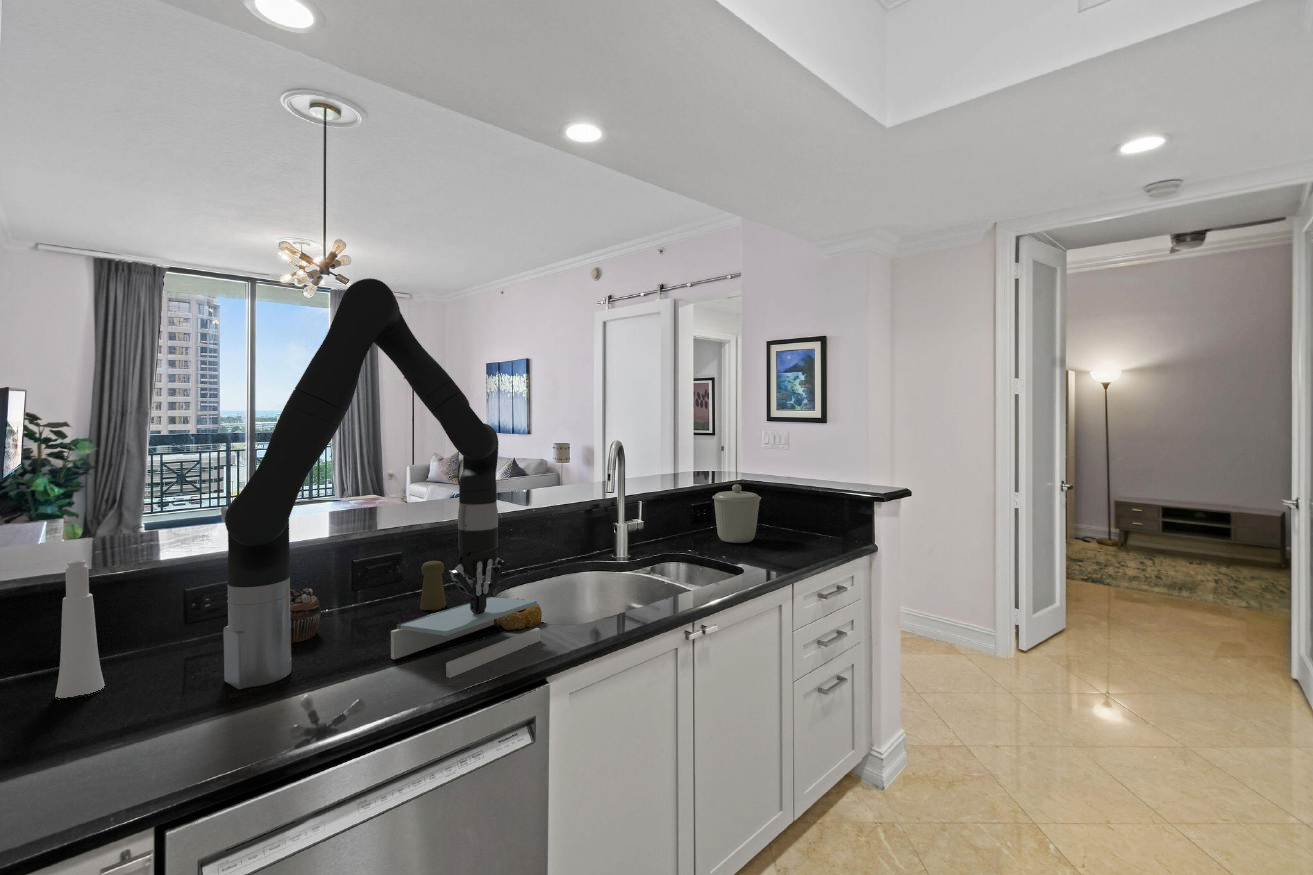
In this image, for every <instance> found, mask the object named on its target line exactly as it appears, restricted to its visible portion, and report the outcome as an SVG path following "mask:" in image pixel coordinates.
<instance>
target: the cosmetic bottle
mask: <svg viewBox="0 0 1313 875" xmlns="http://www.w3.org/2000/svg"><path fill="white" fill-rule="evenodd" d="M86 563H87V560H86V559H75V560H70V561H68V562H67V566H68V567H66V568H65V572H64V573H65V596H64V597H63V598H62V609H61V629H60V630H61V632H60V635H61V636H60V656H59V657H60V659H59V660H60V661H59V671H58V677H57V678H58V679H57V685H56V690H55V695H54V697H55V698H56V697H58V698H67V697H74V696H78V695H84V694H90V693H93V692H96V691H98V690H100V691H102V690H103V689H104V688H105V687H104V686H106V684H105V681H104V677H103V673H102V669H101V664H100V663H101V662H100V657H99V656H100V655H99V649H98V639H97V638H98V637H97V628H96V617H95V616H96V614H95V605H94V604H95V603H94V598H93V596H94V595H93V593H90V582H89V581H90V580H89V577H90V576H89V566H88V565H86ZM102 688H103V689H102ZM101 689H102V690H101ZM98 692H99V691H98ZM96 693H97V692H96Z"/></svg>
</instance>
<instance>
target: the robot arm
mask: <svg viewBox="0 0 1313 875" xmlns="http://www.w3.org/2000/svg"><path fill="white" fill-rule="evenodd" d="M329 326H330V327H329V328H328V331H327V333H326V336H325V337H324V339H323V341H322V343H321V344H320V346H319V347H318V349H317V351H316V352H315V354H314V355H313V357H312V358H311V360H310V361H309V364H308V365H307V366H306V369H305V371H304V372H303V374H302V376H301V377H300V379H299V381H298V382H297V384H296V385H295V387H294V389H293V391H292V392H291V394H290V396H289V398H288V400H287V401H286V403H285V404H284V407H283V409H282V411H281V413H280V414H279V417H278V420H277V422H276V423H275V424H276V425H275V426H274V429H273V431H272V434H271V436H270V440H269V442H268V445H267V447H266V451H264V452H265V453H264V455H263V457H262V459H261V461H260V463H259V465H258V466H257V468H256V470H255V471H254V473H253V474H252V475H251V477H250V478H249V480H248V481H247V483H246V484H245V485H244V487H243V489H242V490H241V491H240V492H239V494H238V495H236V496H235V497H234V498H233V500H232V501H231V502H230V504H229V506H228V507H227V509H226V512H225V516H224V525H225V528H226V531H227V545H228V546H227V547H228V548H227V550H228V551H227V567H226V569H227V570H226V573H227V574H226V575H227V576H226V579H227V580H226V581H227V622H228V623H227V626H224V627H223V665H224V666H223V668H224V669H223V671H224V673H223V674H224V676H223V677H224V682H226V683H228V684H229V685H231V686H232V687H234V688H235V689H237V690H243V689H246V688H252V687H260V686H265V685H269V684H272V683H275V682H278V681H281V680H283V679H284V678H286V677H287V676H289V675H290V674H291V672H292V660H293V659H292V643H291V621H290V589H291V571H290V570H291V569H290V568H291V567H290V566H291V557H290V553H291V551H290V517H291V515H292V512H293V508H294V506H295V503H296V502H297V498H298V496H299V494H300V492H301V490H302V487H303V485H304V482H305V480H306V479H307V477H308V475H309V474H310V472H311V471H312V469H313V467H314V466H315V464H316V463H317V462H318V460H319V459H320V457H321V456H322V455H323V453H324V452H325V451H326V449H327V447H328V446H329V444H330V442H331V441H332V439H333V437H334V435H335V434H336V433H337V431H338V429H339V427H340V426H341V424H342V421H343V420H344V418H345V416H346V415H347V412H348V411H349V408H350V407H351V405H352V401H353V399H354V396H355V392H356V389H357V387H358V386H357V385H358V382H359V378H360V375H361V370H362V367H363V363H364V361H365V359H366V356H367V355H368V353H369V351H370V349H371V347H372V346H373V344H375V345H376V346H377V347H378V348H379V349H380V350H381V351H382V352H383V353H384V354H385V355H386V356H387V357H388V358H389V359H390V360H391V362H392V363H393V364H394V365H395V366H396V368H397V369H398V371H400V373H401V375H403V377H404V380H405V381H406V382H407V383H408V384H409V386H410V387H411V389H412V390H413V391H414V393H415V395H416V396H418V398H419V399H420V401H421V402H422V404H423V405H424V406H425V407H426V408H427V409H428V410H429V412H430V414H432V416H433V417H434V418H435V419H436V420H437V421H438V423H440V426H441V427H442V429H443V431H444V433H445V434H446V436H447V437H448V438H449V441H450V442H451V444H452V445H453V447H455V449H456V451H458V452H459V454H461V455H462V473H461V474H460V477H459V486H458V490H459V491H458V495H459V496H458V501H459V502H458V503H459V504H458V513H457V548H458V551H459V558H458V560H457V564H458V565H457V566H456V567H454V569H453V570H452V569H450V570H448V572H447V576H448V577H449V579H451V581H452V582H453V584H454V585H455V586H456V587H457V589H458V590H460V592H461V593H463V594H466V595H469V603H470V609H471V611H472V612H473V613H475V614H481V613H484V612H485V609H486V598H487V594H488V593H489V590H491V589H494V588H495V587H496V585H497V584H498V582H499V579H500V578H501V576H502V574H503V572H504V570H505V568H506V567H507V561H506V560H503V559H501V558H499V557H498V555H499V554H498V551H497V549H498V547H499V510H498V505H497V503H498V502H497V489H498V488H497V469H498V468H497V467H498V457H499V436H498V434H497V431H496V430H495V429H494V428H493V426H492V425H491V424H490V425H489V424H487V423H483V421H482V420H481V418H480V417H479V416H478V415H477V413H475V411H474V410H473V408H472V407H471V406H470V401H469V400H468V398H467V396H466V395H465V394H464V392H463V391H462V389H460V387H459V386H458V385H457V383H456V382H455V381H454V379H453V378H452V377H451V376H450V375H449V373H448V372H447V371H446V370H445V369H444V368H443V367H442V366H441V365H440V364H439V362H437V361H436V359H434V358H433V357H432V356H431V355H430V354H429V353H428V352H427V350H426V349H425V348H424V347H423V345H421V343H420V342H419V340H417V338H416V336H415V335H414V334H413V332H412V330H411V329H410V327H409V325H408V323H407V322H406V319H405V318H404V316H403V314H402V312H401V310H400V306H399V303H398V301H397V298H396V295H395V294H394V293H393V290H392V289H391V288H390V287H389V286H388V284H386V283H385V282H383V281H381V279H377V278H372V277H366V278H362V279H359V280H356V281H355V282H353V283H352V284H350V285H349V286H348V287H347V289H345V291H344V292H343V296H342V297H341V300H340V302H339V305H338V306H337V309H336V312H335V314H334V316H333V320H332V322H331V324H330V325H329Z"/></svg>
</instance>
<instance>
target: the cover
mask: <svg viewBox="0 0 1313 875" xmlns="http://www.w3.org/2000/svg"><path fill="white" fill-rule="evenodd" d="M520 599H521V598H519V599H517V598H506V597H493V596H488V597H487V596H486V609H485V612H484V613H481V614H475V613H473V612H472V611H471V609H470V602H468V603H465V604H461V605H457V606H454V607H451V608H448V609H445V610H441V611H438V612H435V613H431V614H427V615H424V616H421V617H417V618H415V619H411V620H408V621H405V622H401V623H397V625H396V629H402V630H409V631H416V632H423V633H430V634H437V635H444V636H447V635H450V634H453V633H456V632H459V631H461V630H464V629H467V628H470V627H473V626H476V625H479V624H482V623H485V622H488V621H491V620H494V621H495V619H496V620H497V618H499V617H502V616H505V615H508V614H511V613H514V612H517V611H520V610H523V609H526V608H529V607H532V606H535V605H537V604H538V601H537V600H533V599H532V600H531V599H525V600H520Z"/></svg>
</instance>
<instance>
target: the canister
mask: <svg viewBox="0 0 1313 875" xmlns="http://www.w3.org/2000/svg"><path fill="white" fill-rule="evenodd" d="M731 489H732V490H730V491H729V490H728V491H727V490H726V491H719V492H717V493H715V494H714V495H712V499H713V500H714V511H715V512H714V513H715V522H716V530H717V535H718V538H719V539H720V540H721V541H722V542H725V543H730V544H745V543H746V544H747V543H750V542H752V541H753V540H754V538H755V537H756V532H757V525H758V524H757V523H758V517H759V515H758V514H759V509H760V508H759V507H760V501H761V499H762V497H761V496H759V494H757V493H754V492H751V491H750V492H749V491H742V489H743V488H742V486H741V484H734V485H732V487H731Z"/></svg>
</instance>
